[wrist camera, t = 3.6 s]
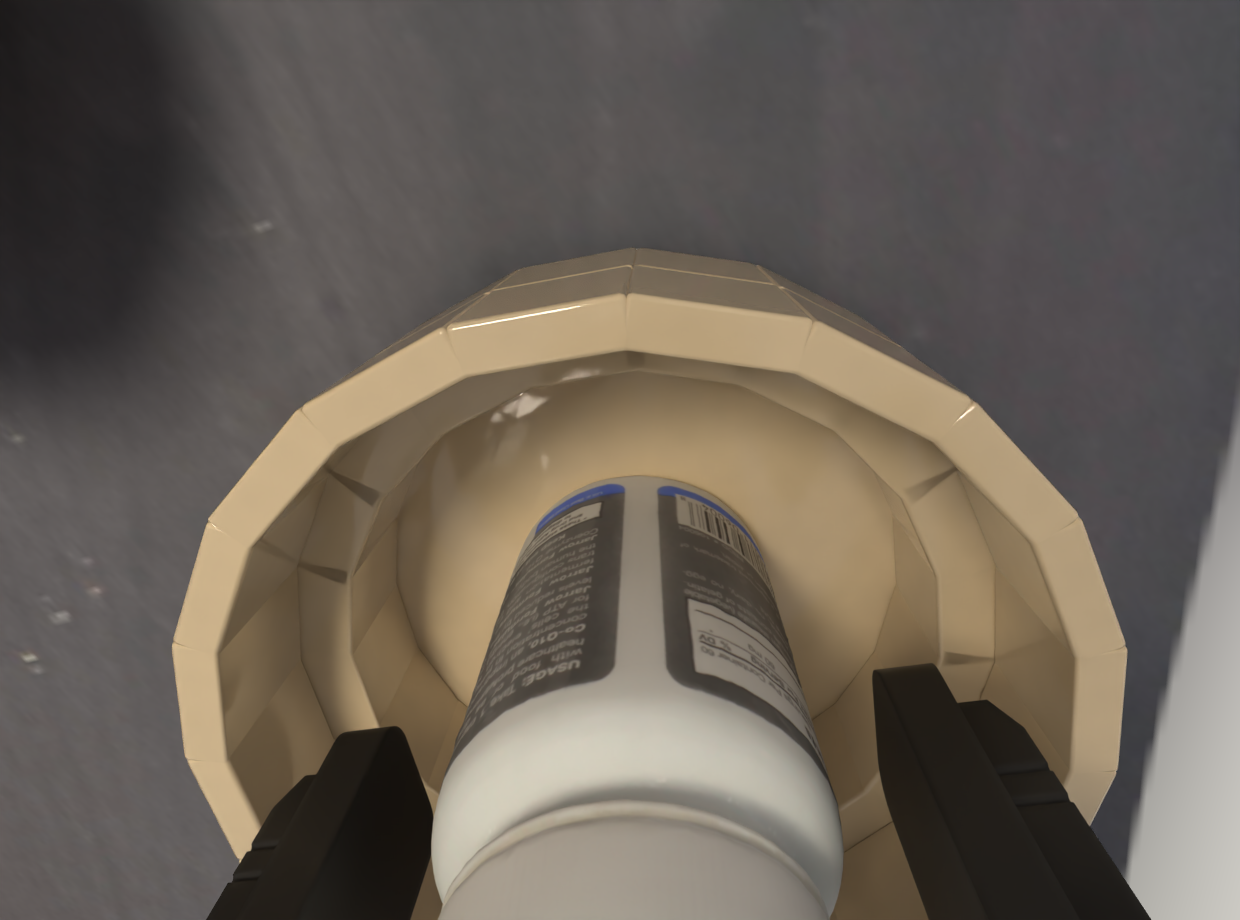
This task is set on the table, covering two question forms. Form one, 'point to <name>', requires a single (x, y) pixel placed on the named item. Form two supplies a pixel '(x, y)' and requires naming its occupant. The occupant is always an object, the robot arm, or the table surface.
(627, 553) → the pill bottle
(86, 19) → the table surface
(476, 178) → the table surface
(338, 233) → the table surface
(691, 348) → the bowl
